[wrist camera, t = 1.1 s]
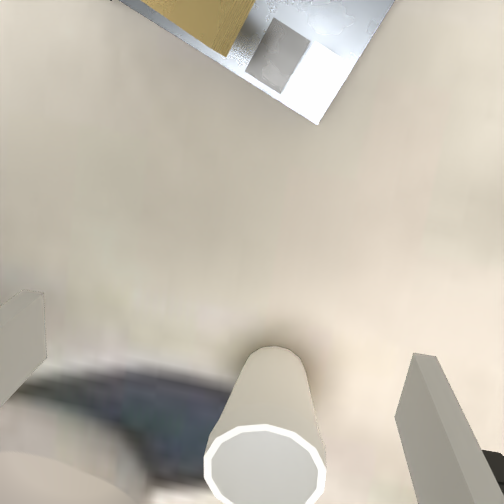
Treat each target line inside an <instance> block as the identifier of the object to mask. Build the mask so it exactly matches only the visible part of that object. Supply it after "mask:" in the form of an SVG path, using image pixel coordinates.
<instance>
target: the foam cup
mask: <svg viewBox="0 0 504 504" xmlns="http://www.w3.org/2000/svg"><path fill="white" fill-rule="evenodd" d="M204 479H205V480H206V482H207V484H208V485H209V487H210V489H211V490H212V492H213V494H214V496H215V497H216V498H217V499H218V500H220V501H221V502H223V503H224V504H314V503H315V502H316V501H317V499H318V498H319V497H320V496H321V494H322V493H323V492H324V488H325V479H326V453H325V445H324V443H323V441H322V439H321V437H320V433H319V428H318V424H317V419H316V415H315V410H314V406H313V402H312V397H311V393H310V388H309V384H308V379H307V375H306V372H305V368H304V366H303V364H302V362H301V359H300V358H299V357H298V356H297V355H295V354H294V353H293V352H292V351H290V350H289V349H286V348H282V347H278V346H269V347H262V348H260V349H258V350H257V351H255V352H253V353H252V354H251V355H250V356H249V358H248V359H247V361H246V363H245V365H244V366H243V368H242V370H241V373H240V375H239V377H238V379H237V382H236V384H235V386H234V388H233V390H232V393H231V395H230V397H229V399H228V401H227V404H226V406H225V408H224V410H223V412H222V415H221V417H220V419H219V421H218V422H217V424H216V425H215V427H214V429H213V430H212V432H211V433H210V436H209V439H208V443H207V447H206V450H205V454H204Z"/></svg>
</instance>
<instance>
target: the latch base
mask: <svg viewBox="0 0 504 504" xmlns="http://www.w3.org/2000/svg"><path fill="white" fill-rule="evenodd" d="M110 1H112V0H110ZM119 1H121V2H122V3H124V4H125V5H127V6H129V7H130V8H132V9H133V10H135V11H137V12H138V13H140V14H141V15H143V16H144V17H146V18H148V19H149V20H151V21H152V22H154V23H156V24H157V25H159V26H160V27H162V28H164V29H165V30H167V31H168V32H170V33H171V34H173V35H175V36H176V37H178V38H179V39H181V40H183V41H184V42H186V43H187V44H189V45H191V46H192V47H194V48H195V49H197V50H198V51H200V52H202V53H203V54H205V55H206V56H208V57H210V58H211V59H213V60H214V61H216V62H218V63H219V64H221V65H222V66H224V67H225V68H227V69H229V70H230V71H232V72H233V73H235V74H237V75H238V76H240V77H241V78H243V79H245V80H246V81H248V82H249V83H251V84H252V85H254V86H256V87H257V88H259V89H260V90H262V91H264V92H265V93H267V94H268V95H270V96H272V97H273V98H275V99H276V100H278V101H279V102H281V103H283V104H284V105H286V106H287V107H289V108H291V109H292V110H294V111H295V112H297V113H299V114H300V115H302V116H303V117H305V118H306V119H308V120H310V121H311V122H313V123H314V124H316V125H318V123H319V121H320V120H321V118H322V117H323V115H324V113H325V112H326V110H327V109H328V107H329V105H330V104H331V102H332V101H333V99H334V97H335V96H336V94H337V93H338V91H339V89H340V88H341V86H342V85H343V83H344V81H345V80H346V78H347V77H348V75H349V73H350V72H351V70H352V69H353V67H354V65H355V64H356V62H357V61H358V59H359V57H360V56H361V54H362V53H363V51H364V49H365V48H366V46H367V45H368V43H369V41H370V40H371V38H372V37H373V35H374V33H375V32H376V30H377V28H378V27H379V25H380V24H381V22H382V20H383V19H384V17H385V16H386V14H387V12H388V11H389V9H390V8H391V6H392V4H393V3H394V1H395V0H256V1H255V3H254V4H253V6H252V8H251V10H250V12H249V14H248V16H247V18H246V20H245V22H244V24H243V26H242V28H241V30H240V32H239V34H238V36H237V38H236V39H235V41H234V43H233V45H232V47H231V49H230V51H229V53H228V55H227V57H224V56H223V55H221V54H219V53H217V52H216V51H214V50H212V49H211V48H209V47H208V46H206V45H205V44H203V43H202V42H200V41H199V40H197V39H196V38H194V37H193V36H192V35H190V34H189V33H187V32H186V31H184V30H183V29H181V28H180V27H179V26H177V25H176V24H174V23H173V22H171V21H170V20H168V19H167V18H165V17H164V16H163V15H161V14H160V13H158V12H157V11H155V10H154V9H152V8H151V7H150V6H148V5H147V4H145V3H144V2H142V1H141V0H119Z"/></svg>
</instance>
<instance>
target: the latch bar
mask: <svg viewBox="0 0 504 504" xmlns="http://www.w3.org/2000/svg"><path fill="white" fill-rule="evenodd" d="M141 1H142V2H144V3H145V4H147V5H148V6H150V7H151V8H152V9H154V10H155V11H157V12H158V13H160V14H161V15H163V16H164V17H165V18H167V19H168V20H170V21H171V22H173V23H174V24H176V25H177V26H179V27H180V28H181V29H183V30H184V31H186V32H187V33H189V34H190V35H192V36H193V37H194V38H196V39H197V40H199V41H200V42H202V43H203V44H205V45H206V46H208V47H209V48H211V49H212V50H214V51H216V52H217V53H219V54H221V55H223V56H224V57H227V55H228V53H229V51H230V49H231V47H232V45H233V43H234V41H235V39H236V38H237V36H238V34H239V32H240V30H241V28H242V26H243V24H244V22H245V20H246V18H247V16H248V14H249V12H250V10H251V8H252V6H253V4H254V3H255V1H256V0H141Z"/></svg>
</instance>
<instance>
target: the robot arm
mask: <svg viewBox="0 0 504 504" xmlns="http://www.w3.org/2000/svg"><path fill="white" fill-rule="evenodd" d="M46 358H47V351H46V330H45V310H44V293H42V292H36V291H29V290H22V291H20V292H19V293H18V294H16V295H15V296H14V297H12V298H11V299H9V300H8V301H7V302H5V303H4V304H3V305H1V306H0V407H1V406H2V405H3V404H4V403H5V402H6V401H7V400H8V399H9V398H10V397H11V395H12V394H13V393H14V392H15V391H16V390H17V389H18V388H19V387H20V386H21V385H22V384H23V383H24V382H25V381H26V379H27V378H28V377H29V376H30V375H31V374H32V373H33V372H34V371H35V370H36V369H37V368H38V367H39V366H40V365H41V363H42V362H43V361H44V360H45V359H46ZM395 421H396V424H397V428H398V432H399V435H400V439H401V443H402V446H403V450H404V454H405V457H406V461H407V465H408V468H409V472H410V476H411V479H412V483H413V487H414V490H415V494H416V498H417V501H418V504H504V456H503V455H502V454H501V453H497V452H492V451H486V450H481V448H480V446H479V444H478V442H477V440H476V438H475V435H474V433H473V431H472V429H471V427H470V425H469V423H468V421H467V419H466V417H465V415H464V413H463V411H462V409H461V407H460V405H459V403H458V400H457V398H456V396H455V394H454V392H453V390H452V388H451V386H450V384H449V382H448V380H447V378H446V376H445V374H444V372H443V370H442V368H441V365H440V363H439V361H438V359H437V357H436V356H430V355H424V354H418V353H413V356H412V359H411V363H410V366H409V370H408V373H407V376H406V380H405V383H404V387H403V390H402V394H401V397H400V400H399V404H398V407H397V411H396V414H395Z"/></svg>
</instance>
